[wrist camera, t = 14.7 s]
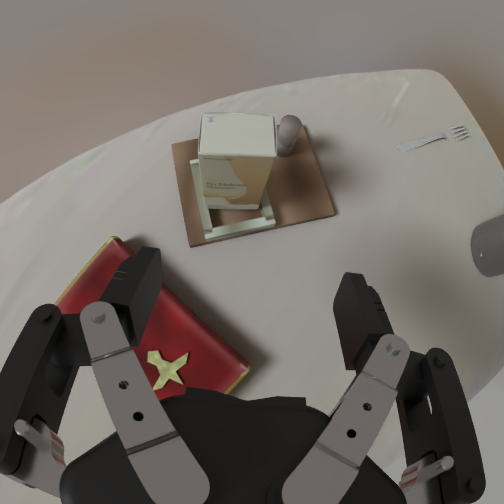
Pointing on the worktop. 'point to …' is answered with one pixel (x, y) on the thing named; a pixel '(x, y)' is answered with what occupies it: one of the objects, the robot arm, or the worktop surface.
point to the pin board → (274, 197)
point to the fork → (431, 139)
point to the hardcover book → (162, 333)
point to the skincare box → (235, 158)
